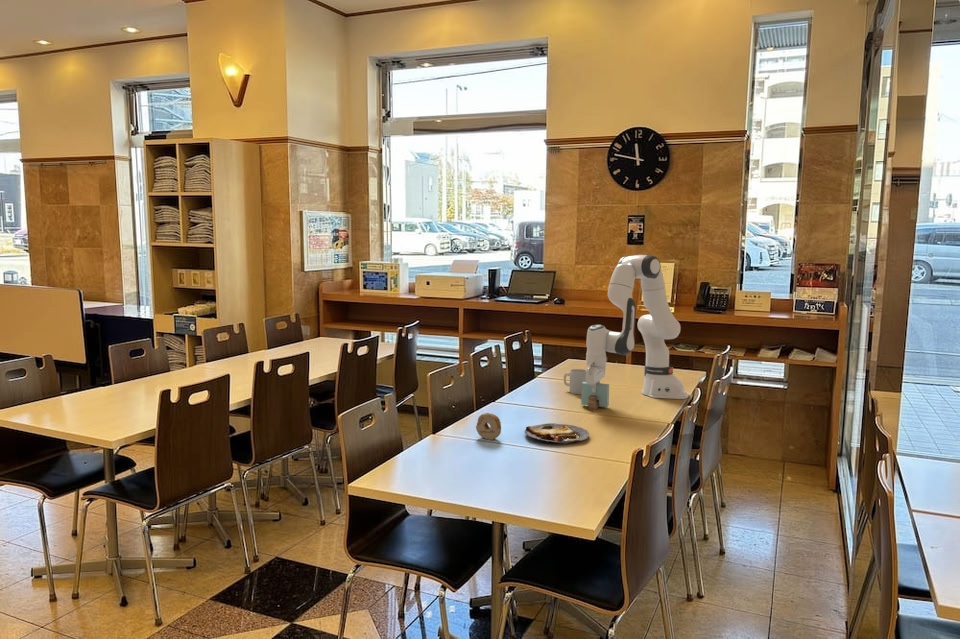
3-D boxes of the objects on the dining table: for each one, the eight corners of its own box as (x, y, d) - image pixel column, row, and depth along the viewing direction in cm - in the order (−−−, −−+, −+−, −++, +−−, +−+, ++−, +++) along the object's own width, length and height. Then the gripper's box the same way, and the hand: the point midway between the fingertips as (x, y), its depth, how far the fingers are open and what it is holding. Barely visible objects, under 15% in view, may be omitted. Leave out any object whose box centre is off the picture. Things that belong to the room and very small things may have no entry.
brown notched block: (595, 403, 321) (595, 391, 320) (601, 404, 320) (601, 391, 319) (588, 409, 310) (588, 396, 310) (594, 410, 309) (595, 397, 308)
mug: (589, 391, 346) (589, 369, 345) (583, 395, 339) (583, 373, 338) (566, 388, 352) (567, 367, 351) (560, 392, 345) (560, 370, 343)
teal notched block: (608, 405, 314) (609, 384, 313) (607, 407, 311) (607, 385, 310) (583, 403, 319) (583, 381, 318) (581, 404, 316) (581, 383, 315)
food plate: (536, 447, 255) (536, 438, 255) (516, 431, 278) (516, 422, 277) (598, 444, 262) (598, 435, 262) (574, 428, 284) (574, 419, 284)
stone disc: (503, 439, 266) (503, 414, 265) (497, 442, 263) (498, 416, 262) (480, 435, 272) (480, 410, 270) (475, 437, 269) (475, 412, 267)
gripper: (596, 365, 302) (596, 396, 304) (608, 357, 320) (607, 387, 322) (582, 364, 304) (582, 395, 306) (594, 356, 323) (594, 385, 325)
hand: (595, 390), depth 314 cm, fingers closed on teal notched block, 3 cm apart
